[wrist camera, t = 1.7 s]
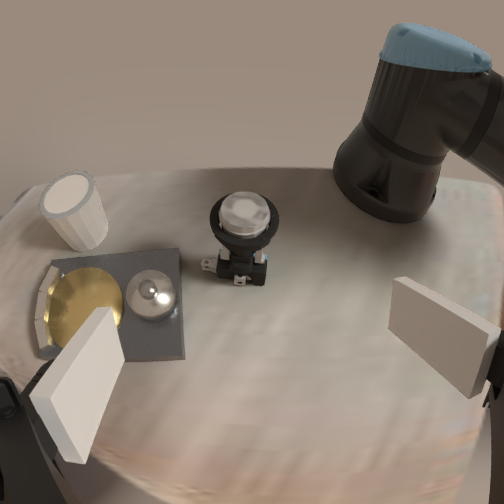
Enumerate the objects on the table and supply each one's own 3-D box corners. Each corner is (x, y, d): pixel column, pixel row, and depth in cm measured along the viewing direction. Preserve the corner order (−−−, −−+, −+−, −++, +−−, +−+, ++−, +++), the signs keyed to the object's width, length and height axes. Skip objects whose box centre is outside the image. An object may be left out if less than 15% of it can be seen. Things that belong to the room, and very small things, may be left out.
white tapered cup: (117, 245, 33) (96, 204, 27) (64, 264, 31) (37, 227, 25) (110, 202, 36) (93, 161, 30) (62, 220, 34) (40, 182, 28)
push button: (198, 292, 30) (184, 231, 22) (207, 246, 33) (199, 178, 25) (266, 299, 30) (278, 241, 22) (269, 253, 33) (282, 187, 25)
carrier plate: (180, 255, 32) (174, 232, 29) (185, 359, 26) (177, 347, 23) (56, 266, 31) (40, 247, 27) (44, 360, 25) (22, 348, 21)
